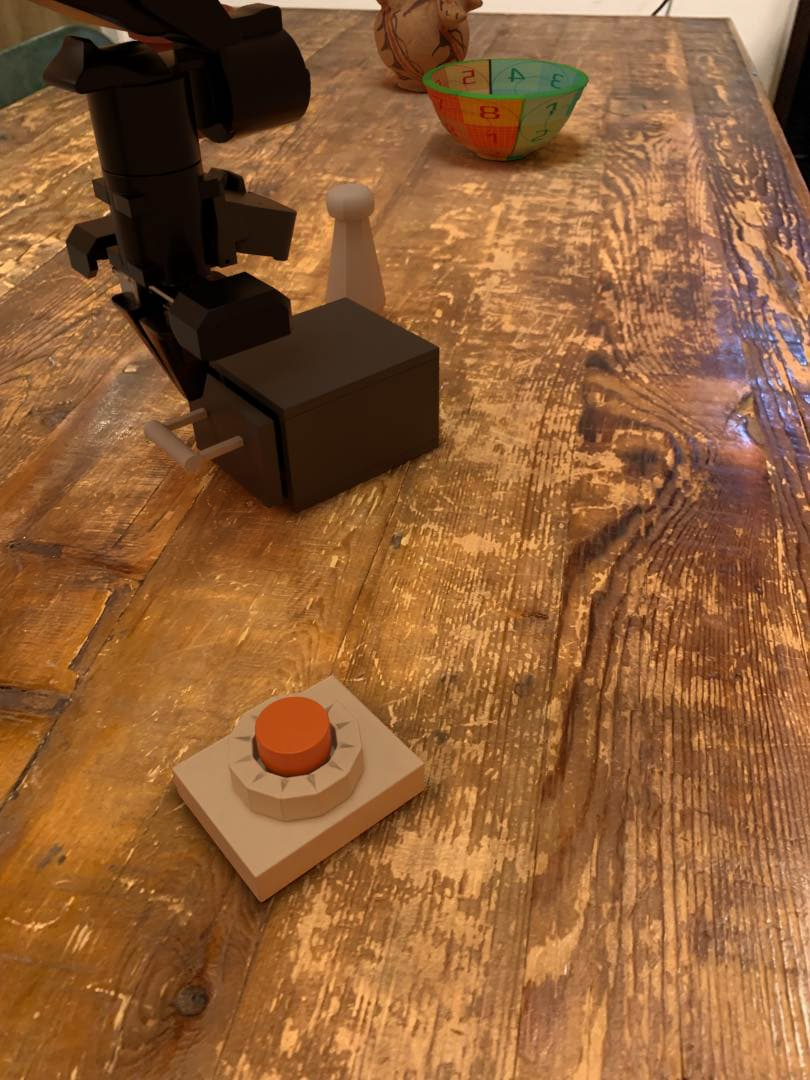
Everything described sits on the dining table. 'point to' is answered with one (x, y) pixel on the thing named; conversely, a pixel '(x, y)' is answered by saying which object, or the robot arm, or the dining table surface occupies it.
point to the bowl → (504, 103)
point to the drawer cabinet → (342, 397)
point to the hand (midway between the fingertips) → (193, 397)
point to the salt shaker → (353, 249)
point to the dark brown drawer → (229, 439)
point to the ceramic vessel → (422, 36)
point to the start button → (293, 736)
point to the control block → (298, 791)
